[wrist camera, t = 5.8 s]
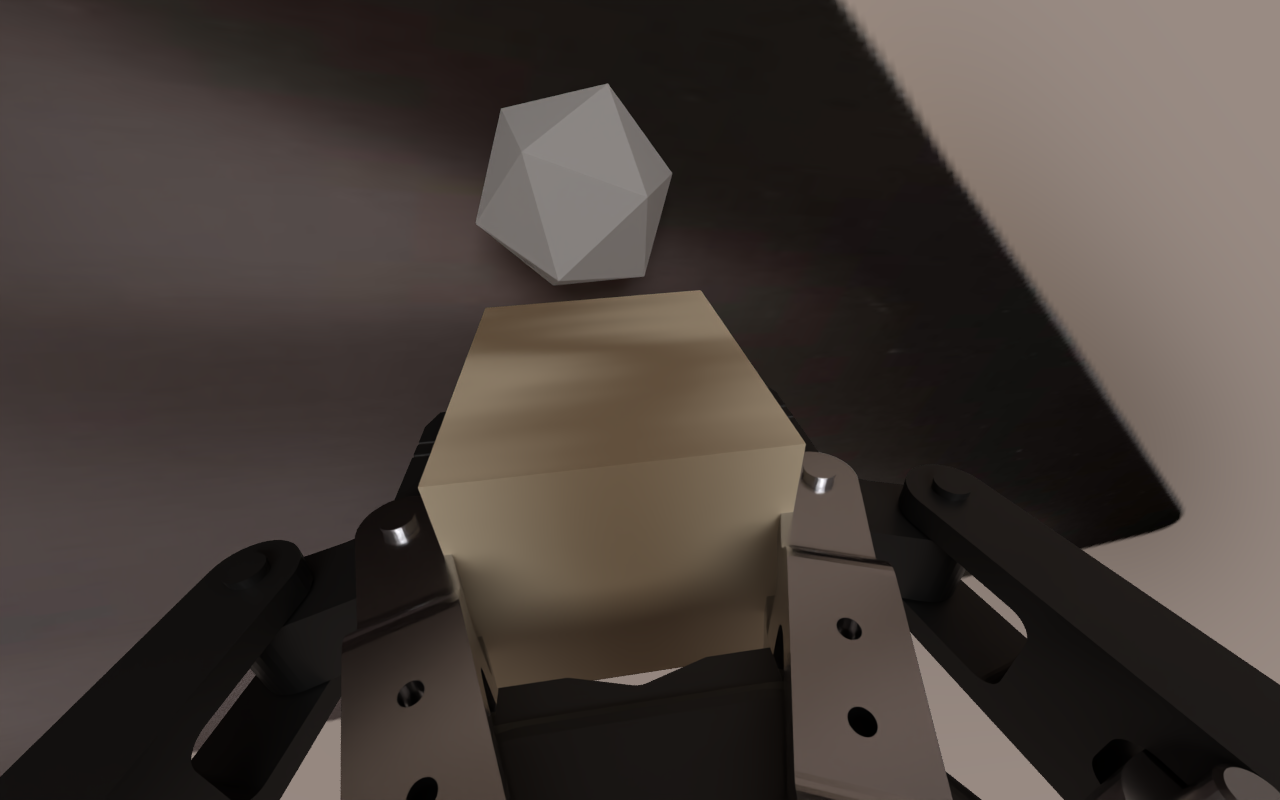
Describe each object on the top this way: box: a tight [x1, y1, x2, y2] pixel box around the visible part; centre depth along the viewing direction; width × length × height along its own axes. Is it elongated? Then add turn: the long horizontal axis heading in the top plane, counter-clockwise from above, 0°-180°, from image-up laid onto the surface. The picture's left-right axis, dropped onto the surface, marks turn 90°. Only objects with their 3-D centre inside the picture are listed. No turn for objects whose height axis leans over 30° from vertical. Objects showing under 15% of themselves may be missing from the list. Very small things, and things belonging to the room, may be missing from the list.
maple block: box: [418, 290, 806, 688], centre depth 10 cm, size 5×5×6 cm
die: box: [476, 84, 672, 286], centre depth 23 cm, size 8×9×10 cm
